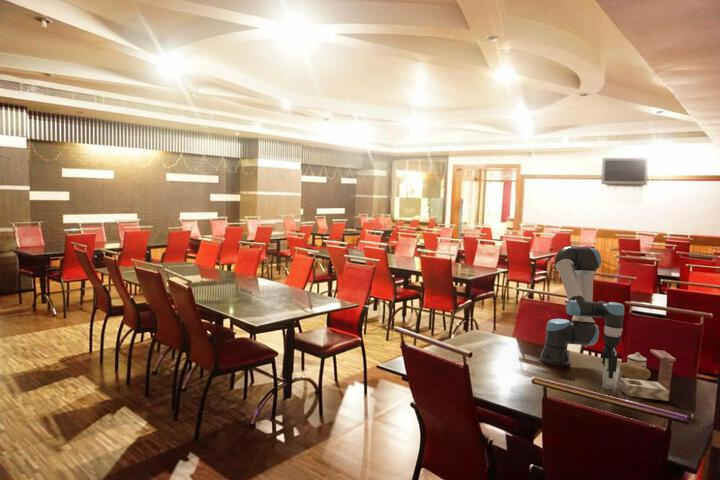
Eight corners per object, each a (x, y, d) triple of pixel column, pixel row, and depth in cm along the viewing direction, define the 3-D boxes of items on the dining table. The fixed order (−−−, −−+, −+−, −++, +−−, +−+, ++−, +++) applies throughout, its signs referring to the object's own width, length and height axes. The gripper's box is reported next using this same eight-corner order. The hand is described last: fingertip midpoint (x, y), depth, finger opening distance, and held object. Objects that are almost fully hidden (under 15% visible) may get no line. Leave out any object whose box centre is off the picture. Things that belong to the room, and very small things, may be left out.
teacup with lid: (642, 379, 246) (645, 357, 245) (623, 373, 252) (625, 352, 251) (649, 373, 254) (651, 352, 253) (630, 368, 260) (632, 348, 259)
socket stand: (626, 396, 221) (631, 354, 219) (617, 386, 232) (622, 346, 231) (670, 401, 217) (675, 358, 216) (659, 391, 229) (664, 350, 227)
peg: (603, 388, 229) (606, 360, 228) (601, 385, 233) (604, 357, 231) (612, 389, 228) (615, 361, 227) (609, 386, 232) (612, 358, 231)
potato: (647, 386, 235) (649, 371, 234) (616, 378, 244) (618, 363, 243) (651, 381, 242) (653, 366, 241) (621, 373, 251) (622, 359, 251)
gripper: (627, 341, 219) (622, 390, 221) (614, 331, 236) (609, 376, 238) (610, 339, 220) (604, 388, 222) (598, 329, 237) (593, 374, 240)
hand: (607, 382), depth 230 cm, fingers open, 4 cm apart
